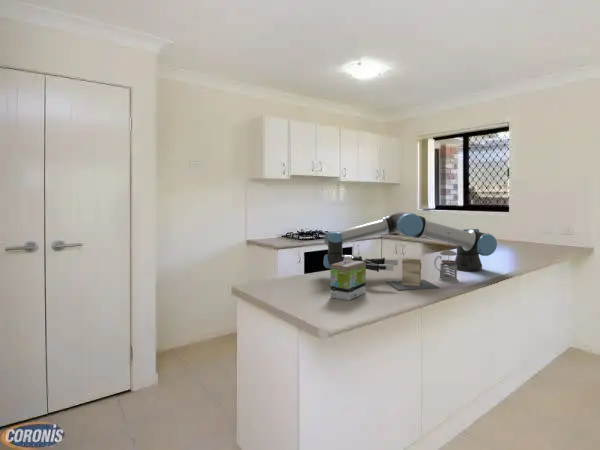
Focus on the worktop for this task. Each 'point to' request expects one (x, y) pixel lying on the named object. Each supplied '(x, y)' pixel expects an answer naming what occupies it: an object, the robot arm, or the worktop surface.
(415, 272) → the birch block
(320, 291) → the worktop surface
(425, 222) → the robot arm
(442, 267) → the french press
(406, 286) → the mat
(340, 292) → the tea box
